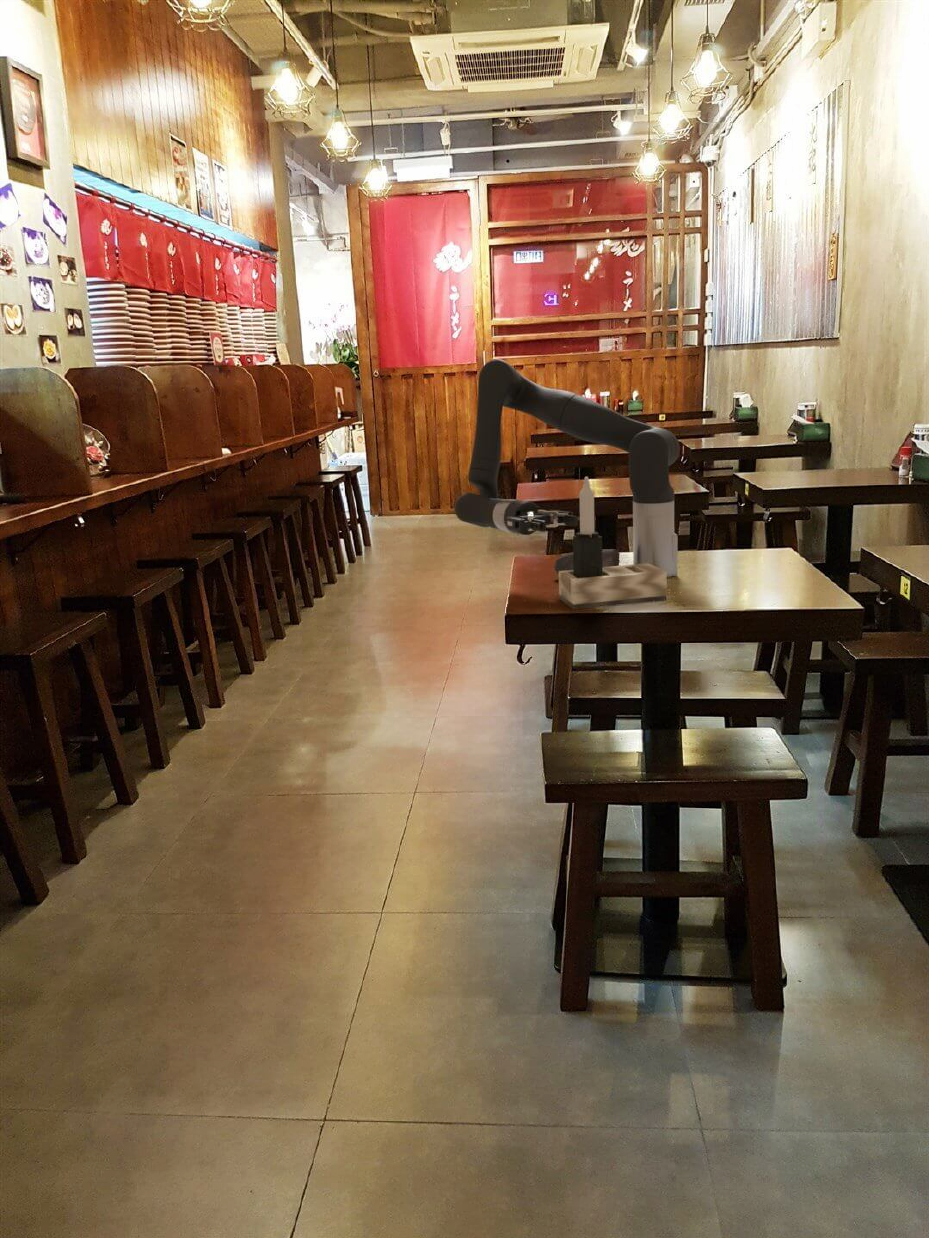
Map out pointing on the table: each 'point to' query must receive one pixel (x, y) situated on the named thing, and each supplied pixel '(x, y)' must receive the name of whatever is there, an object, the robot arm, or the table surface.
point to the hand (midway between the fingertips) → (560, 523)
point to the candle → (587, 539)
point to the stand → (614, 586)
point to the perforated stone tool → (608, 559)
